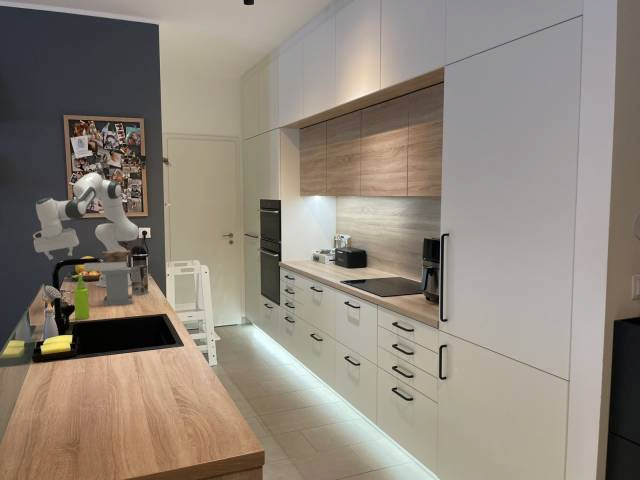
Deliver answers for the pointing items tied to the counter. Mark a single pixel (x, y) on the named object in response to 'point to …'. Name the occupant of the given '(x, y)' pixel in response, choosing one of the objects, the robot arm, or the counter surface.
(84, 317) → the soap dispenser
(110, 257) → the walnut stand
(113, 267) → the alu channel
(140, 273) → the coffee box
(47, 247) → the robot arm
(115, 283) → the grey stand
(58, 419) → the counter surface
